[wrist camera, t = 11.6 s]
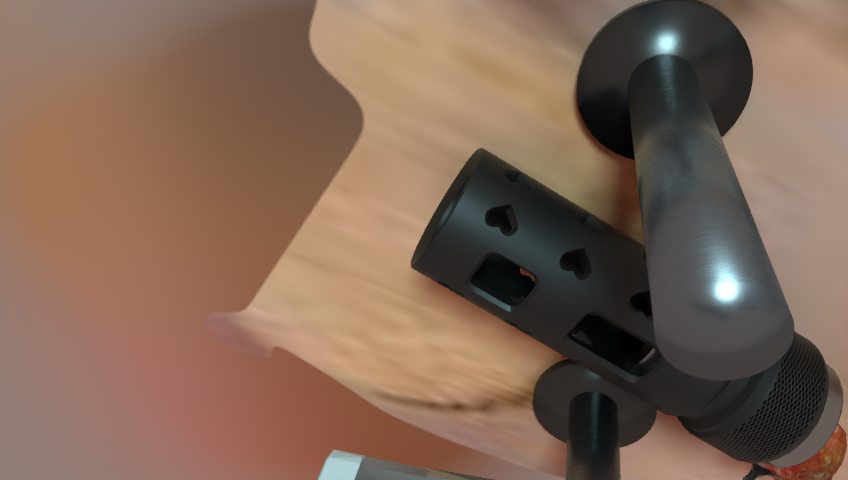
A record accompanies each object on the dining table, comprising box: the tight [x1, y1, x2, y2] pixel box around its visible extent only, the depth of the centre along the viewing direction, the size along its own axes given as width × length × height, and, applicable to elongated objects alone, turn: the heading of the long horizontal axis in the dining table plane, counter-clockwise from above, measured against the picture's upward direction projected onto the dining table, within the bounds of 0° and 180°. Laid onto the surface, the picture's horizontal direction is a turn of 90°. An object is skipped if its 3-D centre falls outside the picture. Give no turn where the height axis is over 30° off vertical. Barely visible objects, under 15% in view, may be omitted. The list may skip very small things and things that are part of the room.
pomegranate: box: [743, 424, 847, 480], centre depth 48 cm, size 7×7×10 cm
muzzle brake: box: [411, 148, 843, 468], centre depth 43 cm, size 10×28×10 cm, turn 62°
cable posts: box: [533, 0, 794, 480], centre depth 38 cm, size 10×38×24 cm, turn 0°
